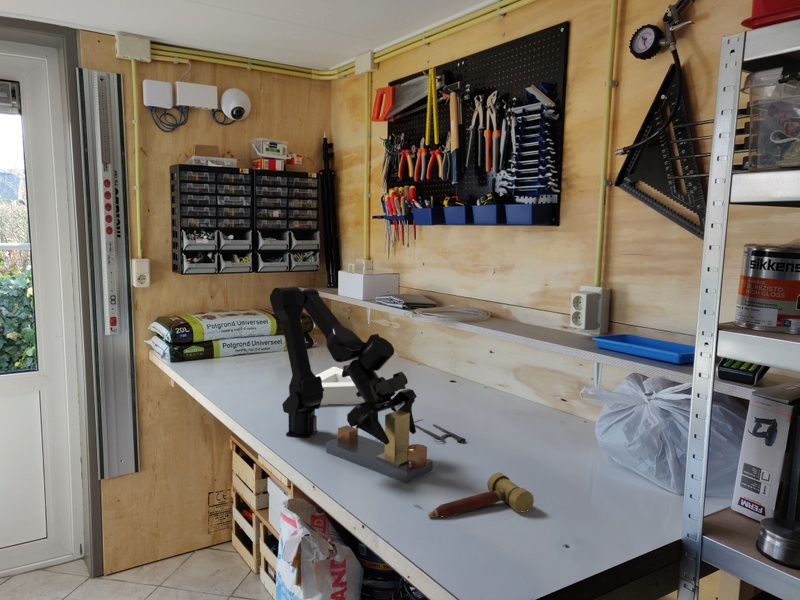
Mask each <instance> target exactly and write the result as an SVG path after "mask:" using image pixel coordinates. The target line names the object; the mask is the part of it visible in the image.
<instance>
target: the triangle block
mask: <svg viewBox="0 0 800 600" xmlns="http://www.w3.org/2000/svg"><path fill="white" fill-rule="evenodd" d="M342 372H343V369H342V368H339V367H337V366H332V367H329V368H328V369H326V370H324V371H322V372H319V373H318V374H314V375H315V376H316V377H318V376H320V377H321V380H322V387H323V389H324V391H323V399H322V401H321V404H320V406H329V405H328V404H345V405H357V404H360V403H363V402H365V401H364V399H363V398H362V396H361V397H357V395H356V393H357V392H358V389H357V388H356V386H355V384H354V383H353V381H352V379H351V378H350V376H347V377H342Z"/></svg>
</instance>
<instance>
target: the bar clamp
mask: <svg viewBox="0 0 800 600" xmlns="http://www.w3.org/2000/svg"><path fill="white" fill-rule="evenodd" d="M420 421H423V419H418V420H416V421H414V424H415V429H418V430H420V431H422V432H424V433H426V434H427V435H429V436H431V437H433V438H434V442H436V443H444V442H445V440H446V439H445V438H448V437H451V438H452V439H454V440H456V442H457V443H459V444H465V443H467V439H466V438H465V437H462V436H459V435H457V434H455V433H453V432H450V431H449V430H447V429H445V428H443V427H440V426H439V425H436V424H435V423H433V424H432V426H433V427H434V428H435V429H438V430H439V431H441V432H443V433H444V434H442V435H441V436H440V435H437V434H436V433H434V432H431V431H430V430H427V429H425V428H423V427H422V426H419V425H417V424H416V423H418V422H420ZM438 440H440V441H438Z"/></svg>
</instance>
